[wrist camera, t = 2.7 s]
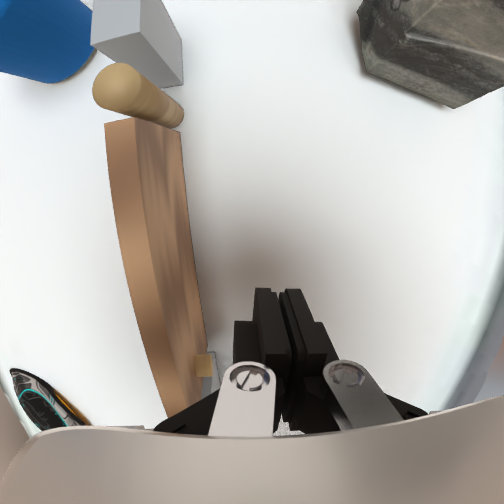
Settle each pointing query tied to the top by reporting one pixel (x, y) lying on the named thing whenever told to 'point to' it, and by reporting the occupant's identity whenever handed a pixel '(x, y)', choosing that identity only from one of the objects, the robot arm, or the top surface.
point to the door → (155, 231)
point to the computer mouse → (42, 402)
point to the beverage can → (44, 38)
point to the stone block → (436, 46)
